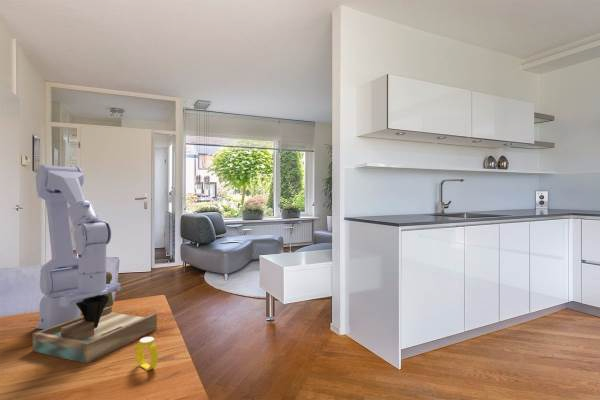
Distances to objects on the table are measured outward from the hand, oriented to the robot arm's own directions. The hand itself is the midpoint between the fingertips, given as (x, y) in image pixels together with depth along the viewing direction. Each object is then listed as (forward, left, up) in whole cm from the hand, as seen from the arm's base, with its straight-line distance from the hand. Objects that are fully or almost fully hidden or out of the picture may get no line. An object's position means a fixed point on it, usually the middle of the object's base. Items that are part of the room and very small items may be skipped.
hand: (92, 327), depth 80 cm
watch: (+21, -5, -4) cm, 22 cm away
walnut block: (0, -4, -1) cm, 4 cm away
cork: (-22, +21, -4) cm, 30 cm away
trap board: (0, +2, -3) cm, 4 cm away
